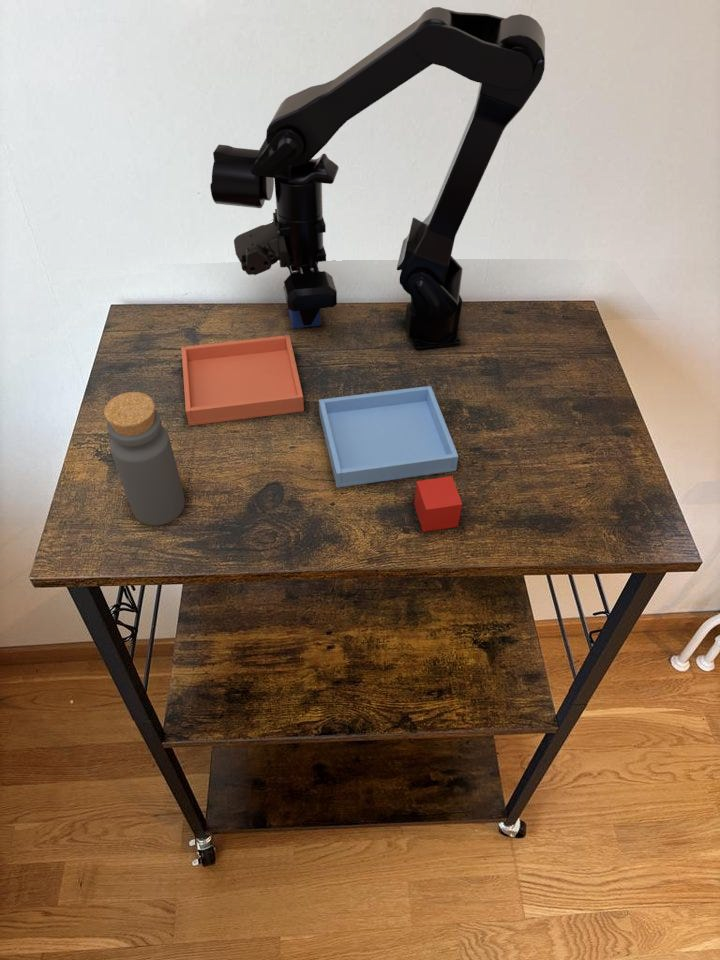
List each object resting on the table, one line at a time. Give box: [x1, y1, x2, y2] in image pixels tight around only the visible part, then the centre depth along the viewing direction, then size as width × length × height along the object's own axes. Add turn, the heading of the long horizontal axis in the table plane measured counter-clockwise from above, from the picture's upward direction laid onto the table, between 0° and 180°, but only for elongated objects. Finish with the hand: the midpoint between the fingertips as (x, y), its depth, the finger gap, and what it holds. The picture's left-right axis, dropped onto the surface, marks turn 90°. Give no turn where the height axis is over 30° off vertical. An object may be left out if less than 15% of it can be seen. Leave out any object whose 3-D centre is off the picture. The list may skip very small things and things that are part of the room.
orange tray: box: [181, 334, 305, 427], centre depth 93 cm, size 14×12×2 cm
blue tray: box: [318, 385, 459, 488], centre depth 87 cm, size 14×12×2 cm
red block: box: [413, 475, 463, 533], centre depth 80 cm, size 4×4×4 cm
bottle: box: [103, 391, 186, 527], centre depth 76 cm, size 6×6×15 cm
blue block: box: [288, 309, 322, 329], centre depth 102 cm, size 4×4×4 cm
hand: (304, 312), depth 103 cm, fingers open, 5 cm apart
